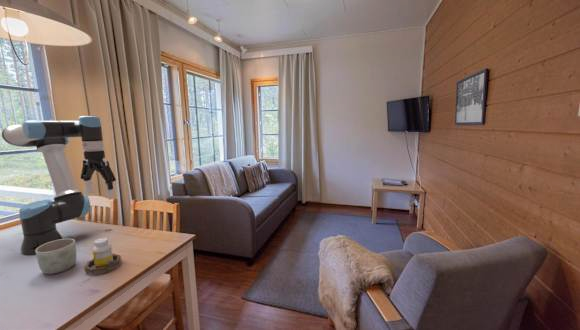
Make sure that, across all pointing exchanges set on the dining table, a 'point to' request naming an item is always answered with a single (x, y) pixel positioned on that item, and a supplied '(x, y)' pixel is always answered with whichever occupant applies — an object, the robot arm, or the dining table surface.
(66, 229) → the dining table surface
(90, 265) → the holder
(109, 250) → the pill bottle
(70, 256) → the planter
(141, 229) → the dining table surface
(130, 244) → the dining table surface
